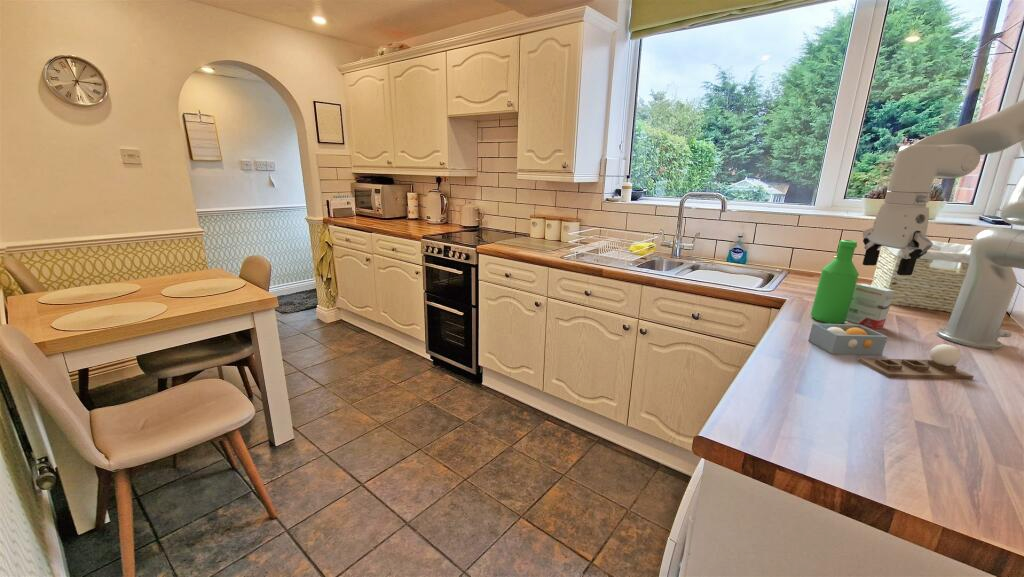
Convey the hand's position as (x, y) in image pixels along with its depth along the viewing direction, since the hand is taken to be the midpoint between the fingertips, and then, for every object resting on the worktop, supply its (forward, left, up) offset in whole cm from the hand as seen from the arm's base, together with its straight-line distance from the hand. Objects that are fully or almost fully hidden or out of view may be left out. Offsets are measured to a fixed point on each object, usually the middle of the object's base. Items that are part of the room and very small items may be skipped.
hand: (885, 269), depth 103 cm
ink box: (-17, -19, -21) cm, 33 cm away
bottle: (-7, -21, -21) cm, 30 cm away
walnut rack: (-2, +12, -21) cm, 24 cm away
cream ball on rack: (-8, +12, -17) cm, 23 cm away
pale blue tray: (+5, 0, -21) cm, 22 cm away
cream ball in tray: (+9, 0, -18) cm, 20 cm away
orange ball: (+3, 0, -18) cm, 18 cm away
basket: (-60, -44, -21) cm, 77 cm away
